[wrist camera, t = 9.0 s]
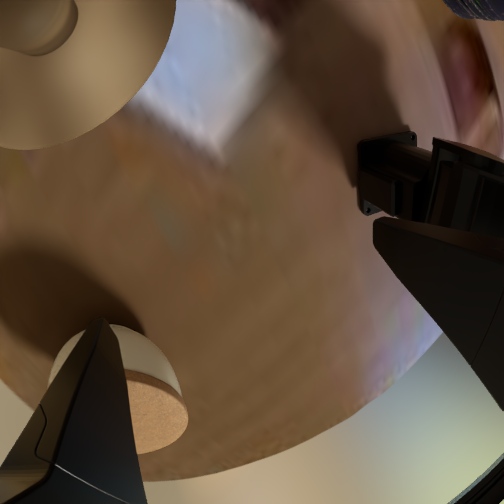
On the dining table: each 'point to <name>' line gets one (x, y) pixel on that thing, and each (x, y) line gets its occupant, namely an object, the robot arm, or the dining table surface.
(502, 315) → the robot arm
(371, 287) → the dining table surface
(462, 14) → the storage jar
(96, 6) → the lid
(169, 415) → the lidded jar
